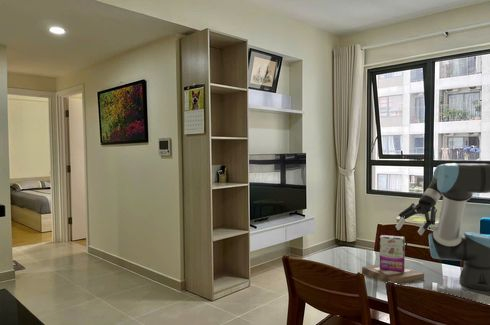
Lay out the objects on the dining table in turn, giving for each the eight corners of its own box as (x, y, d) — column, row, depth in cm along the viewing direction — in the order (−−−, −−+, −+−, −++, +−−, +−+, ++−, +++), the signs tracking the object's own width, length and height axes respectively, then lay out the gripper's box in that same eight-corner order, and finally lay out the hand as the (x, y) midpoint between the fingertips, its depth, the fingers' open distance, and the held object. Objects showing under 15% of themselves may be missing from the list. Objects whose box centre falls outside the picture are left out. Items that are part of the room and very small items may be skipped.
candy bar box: (404, 269, 179) (405, 236, 178) (404, 272, 174) (404, 238, 174) (380, 266, 184) (381, 234, 184) (379, 269, 180) (379, 236, 179)
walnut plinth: (424, 279, 174) (424, 273, 174) (392, 285, 166) (392, 278, 166) (391, 267, 192) (391, 261, 192) (362, 272, 184) (362, 266, 184)
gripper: (455, 207, 178) (433, 240, 173) (412, 201, 201) (392, 230, 195) (448, 197, 176) (425, 230, 170) (405, 192, 199) (385, 221, 193)
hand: (407, 230), depth 183 cm, fingers open, 13 cm apart
